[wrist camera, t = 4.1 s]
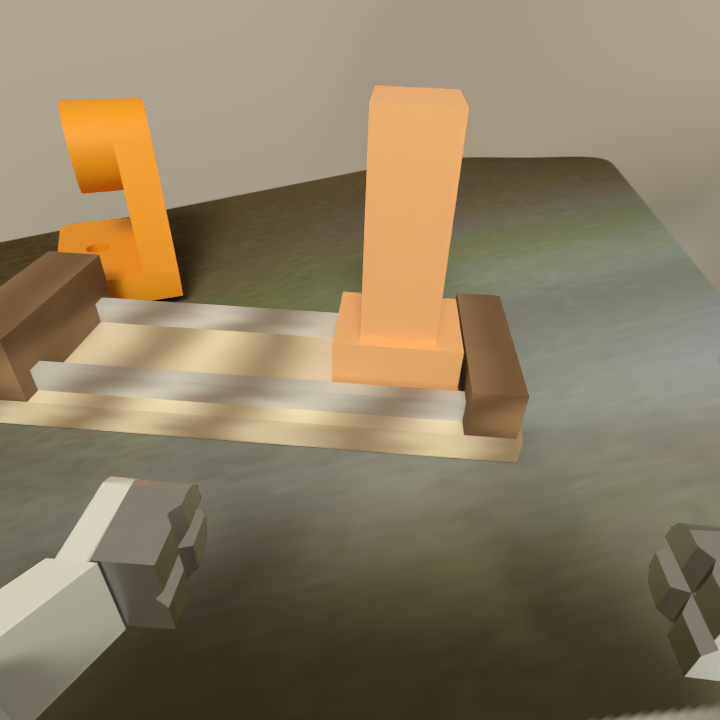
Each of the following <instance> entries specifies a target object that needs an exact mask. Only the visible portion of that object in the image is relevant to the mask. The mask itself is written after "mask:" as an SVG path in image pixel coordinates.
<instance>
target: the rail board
mask: <svg viewBox="0 0 720 720" xmlns="http://www.w3.org/2000/svg"><path fill="white" fill-rule="evenodd" d="M456 303H457V310H458V316H459V323H460V330H461V336H462V343H463V349H464V355H463V360H462V366H461V372H460V377H459V383H458V388H457V391H452V390H438V389H424V388H410V387H396V386H383V385H369V384H355V383H341V382H332V342H333V337H334V333H335V328H336V323H337V319H338V314H339V313H328V312H313V311H298V310H283V309H268V308H253V307H238V306H223V305H208V304H193V303H178V302H163V301H148V300H133V299H118V298H111V295H110V292H109V288H108V284H107V281H106V277H105V273H104V270H103V266H102V263H101V259H100V255H97V254H82V253H66V252H50V251H48V252H47V253H46V254H44V255H43V256H42V257H40V258H39V259H38V260H36V261H35V262H33V263H32V264H31V265H29V266H28V267H27V268H25V269H24V270H23V271H21V272H20V273H18V274H17V275H16V276H14V277H13V278H12V279H10V280H9V281H8V282H6V283H5V284H3V285H2V286H1V287H0V423H12V424H25V425H38V426H51V427H64V428H76V429H89V430H102V431H115V432H128V433H141V434H154V435H167V436H179V437H192V438H205V439H218V440H231V441H244V442H257V443H269V444H282V445H295V446H308V447H321V448H334V449H347V450H359V451H372V452H385V453H398V454H411V455H424V456H437V457H450V458H462V459H475V460H488V461H501V462H514V463H517V460H518V457H519V454H520V450H521V447H522V443H523V440H524V439H523V435H522V431H521V423H522V420H523V416H524V413H525V409H526V406H527V402H528V399H529V395H528V392H527V388H526V385H525V381H524V378H523V375H522V371H521V368H520V364H519V361H518V358H517V354H516V351H515V347H514V344H513V341H512V337H511V334H510V330H509V327H508V324H507V320H506V317H505V313H504V310H503V307H502V303H501V300H500V296H493V295H477V294H461V293H457V296H456Z"/></svg>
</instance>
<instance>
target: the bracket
mask: <svg viewBox="0 0 720 720" xmlns="http://www.w3.org/2000/svg"><path fill="white" fill-rule="evenodd" d="M58 104H59V112H60V117H61V122H62V127H63V131H64V135H65V140H66V143H67V147H68V151H69V155H70V158H71V162H72V166H73V169H74V172H75V175H76V179H77V181H78V184H79V187H80V189H81V192H82V193H94V192H103V191H116V190H124V192H125V197H126V201H127V205H128V210H129V215H130V218H121V219H112V220H102V221H93V222H84V223H74V224H69V225H66V226H63V227H62V228H61V229H60V234H59V245H58V252H66V253H82V254H97V255H100V259H101V263H102V266H103V270H104V273H105V277H106V281H107V284H108V288H109V292H110V295H111V298H118V299H133V300H148V301H152V300H158V299H165V298H171V297H177V296H183V292H182V286H181V281H180V275H179V270H178V265H177V261H176V256H175V251H174V246H173V241H172V236H171V232H170V227H169V222H168V217H167V212H166V208H165V203H164V198H163V193H162V189H161V184H160V178H159V174H158V169H157V164H156V159H155V154H154V150H153V145H152V140H151V135H150V130H149V126H148V121H147V117H146V113H145V109H144V105H143V101H142V98H118V99H89V100H60V101H58Z"/></svg>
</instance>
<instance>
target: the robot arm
mask: <svg viewBox="0 0 720 720" xmlns="http://www.w3.org/2000/svg"><path fill="white" fill-rule="evenodd" d="M200 500H201V495H200V492H199V488H198V485H190V484H181V483H172V482H163V481H153V480H144V479H134V478H123V477H112V476H110V477H109V478H108V479H107V480H105V481H104V482H103V483H102V484H101V485H100V487H99V489H98V490H97V492H96V493H95V495H94V497H93V498H92V500H91V501H90V503H89V505H88V506H87V508H86V509H85V511H84V513H83V514H82V516H81V517H80V519H79V521H78V522H77V524H76V525H75V527H74V529H73V530H72V532H71V533H70V535H69V537H68V538H67V540H66V541H65V543H64V545H63V546H62V548H61V549H60V551H59V553H58V554H57V556H56V557H55V558H45V559H44V560H42V561H41V562H39V563H38V564H36V565H35V566H33V567H32V568H30V569H29V570H27V571H26V572H24V573H23V574H22V575H20V576H19V577H17V578H16V579H14V580H13V581H11V582H10V583H8V584H7V585H5V586H4V587H2V588H1V589H0V720H36V719H37V718H38V717H39V716H40V715H41V714H42V713H43V712H44V711H45V710H46V709H47V708H48V707H49V706H50V705H51V704H52V703H53V702H54V701H55V700H56V699H57V698H58V697H59V696H60V695H61V694H62V693H63V692H64V691H65V690H66V689H67V688H68V687H69V686H70V685H71V684H72V683H73V682H74V681H75V680H76V679H77V678H78V677H79V676H80V675H81V674H82V673H83V672H84V671H85V670H86V669H87V668H88V667H89V666H90V665H91V664H92V663H93V662H94V661H95V660H96V659H97V658H98V657H99V656H100V655H101V654H102V653H103V652H104V651H105V650H106V649H107V648H108V647H109V646H110V645H111V644H112V643H113V642H114V641H115V640H116V639H117V638H118V637H119V636H120V635H121V634H122V633H123V632H124V631H125V630H126V627H125V626H134V627H150V628H165V629H176V628H177V625H178V622H179V619H180V617H181V614H182V611H183V609H184V606H185V603H186V600H187V598H188V595H189V592H190V591H189V587H188V583H187V579H186V578H187V577H188V576H189V575H190V574H192V573H193V572H194V571H195V570H196V569H197V568H199V565H200V562H201V559H202V556H203V553H204V548H205V542H206V537H207V523H206V518H205V514H204V513H202V512H201V511H200V510H199V509H198V505H199V503H200ZM665 537H666V539H667V541H668V544H669V546H667V547H665V548H663V549H661V550H659V551H657V552H655V554H654V556H653V558H652V560H651V562H650V564H649V575H648V582H649V587H650V592H651V595H652V598H653V600H654V603H655V606H656V608H657V609H658V610H659V611H660V612H661V613H662V614H663V615H664V616H665V617H666V618H667V619H668V620H669V621H671V624H670V627H669V630H668V633H667V636H668V638H669V641H670V643H671V646H672V648H673V650H674V653H675V655H676V658H677V660H678V663H679V665H680V668H681V670H682V673H683V675H684V677H690V678H699V679H707V680H715V681H720V526H713V525H698V524H683V523H678V524H676V525H674V526H672V527H671V528H670V529H669V531H668V533H667V534H666V536H665Z"/></svg>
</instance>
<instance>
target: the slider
mask: <svg viewBox="0 0 720 720" xmlns="http://www.w3.org/2000/svg"><path fill="white" fill-rule="evenodd" d="M468 111H469V107H468V105H467V103H466V101H465V99H464V97H463V95H462V93H461V91H460V89H438V88H418V87H397V86H377V85H376V86H375V88H374V91H373V94H372V97H371V100H370V102H369V126H368V152H367V178H366V204H365V229H364V255H363V281H362V293H355V292H343V295H342V300H341V305H340V309H339V314H338V319H337V323H336V328H335V333H334V337H333V342H332V382H341V383H355V384H369V385H383V386H396V387H410V388H424V389H438V390H452V391H457V388H458V383H459V377H460V372H461V366H462V360H463V355H464V349H463V343H462V336H461V330H460V323H459V316H458V310H457V303H456V299H448V298H442V297H443V290H444V282H445V275H446V268H447V261H448V254H449V247H450V240H451V233H452V225H453V218H454V211H455V204H456V197H457V190H458V183H459V176H460V168H461V161H462V154H463V146H464V140H465V132H466V126H467V118H468Z"/></svg>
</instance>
